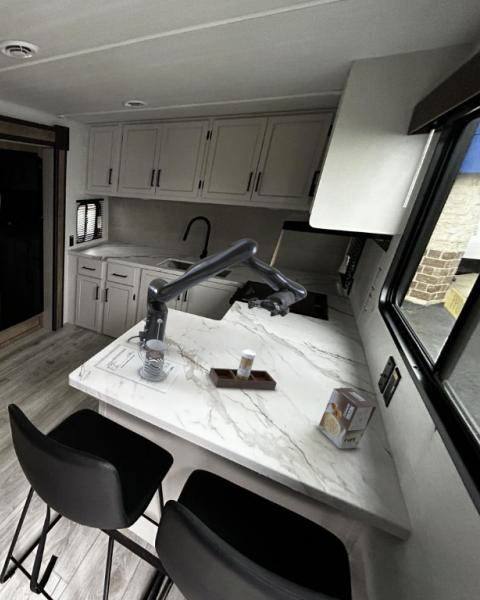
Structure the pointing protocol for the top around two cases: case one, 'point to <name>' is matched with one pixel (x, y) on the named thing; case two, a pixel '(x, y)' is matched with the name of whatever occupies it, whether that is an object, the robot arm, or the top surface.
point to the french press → (155, 352)
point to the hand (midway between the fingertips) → (260, 310)
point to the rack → (229, 380)
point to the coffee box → (346, 417)
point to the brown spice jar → (245, 364)
